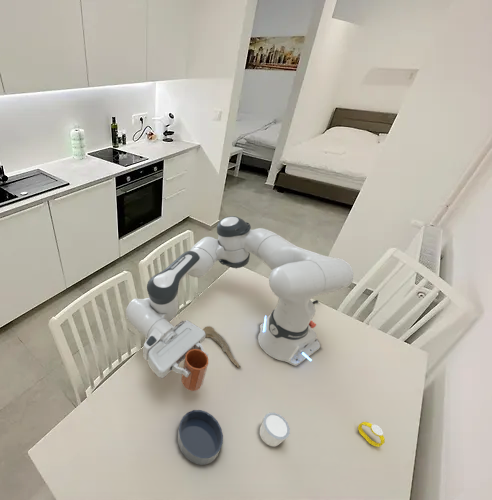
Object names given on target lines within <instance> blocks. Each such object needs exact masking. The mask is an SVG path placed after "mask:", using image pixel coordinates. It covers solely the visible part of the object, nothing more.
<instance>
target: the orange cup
mask: <svg viewBox="0 0 492 500" xmlns="http://www.w3.org/2000/svg"><path fill="white" fill-rule="evenodd" d="M208 366H209V356H208V357H207V355H206V354H205V353H204V352H203V351H201V350H199V349H192V350H189V351H188V352H187V353H186V355H185V359H184V360H183V366H182V368H184V369H185V368H186V367H187V368H188V370H190V371H191V374H190V375H189V376H188V377H185V376H184V375H183V374H181V383H182V386H183V387H184V388H185V389H186V390H188V391H191V392H196V391H198V390H200V389H201V388H202V386H203V384H204V381H205V377H206V373H207V369H208Z"/></svg>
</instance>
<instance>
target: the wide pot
mask: <svg viewBox="0 0 492 500" xmlns="http://www.w3.org/2000/svg"><path fill="white" fill-rule="evenodd" d="M222 430H223V429H222V426H221V425H220V423H219V420H217V418H215V417H214V415H212V414H211V413H209V412H208V411H205V410H201V409H192V410H190V411H187V412H186V413H185V414H184V415H183V416H182V417H181V420H180V422H179V425H178V430H177V431H178V432H177V445H178V447H179V450H180V452H181V453H182V455H183V456H184V457H185V458H186V459H187V460H188V461H189V462H191V463H192V464H196V465H198V466H204V465H205V466H206V465H208V464H211V463H213V462H214V461H215V460H216V458H218V456H219V453H220V451H221V449H222V446H223V443H224V434H223V433H224V432H223V431H222Z"/></svg>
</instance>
